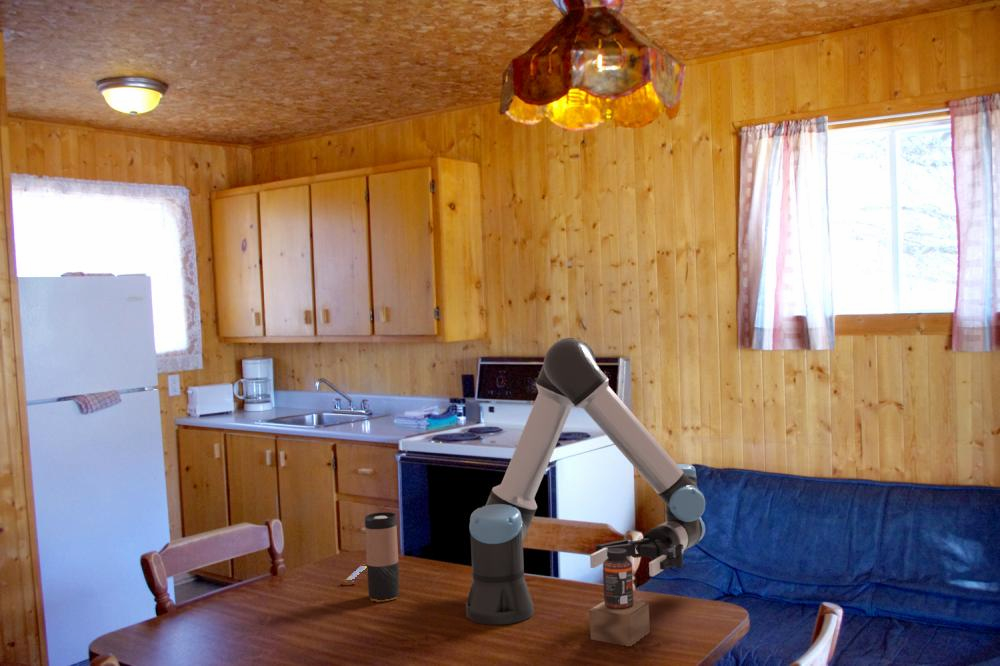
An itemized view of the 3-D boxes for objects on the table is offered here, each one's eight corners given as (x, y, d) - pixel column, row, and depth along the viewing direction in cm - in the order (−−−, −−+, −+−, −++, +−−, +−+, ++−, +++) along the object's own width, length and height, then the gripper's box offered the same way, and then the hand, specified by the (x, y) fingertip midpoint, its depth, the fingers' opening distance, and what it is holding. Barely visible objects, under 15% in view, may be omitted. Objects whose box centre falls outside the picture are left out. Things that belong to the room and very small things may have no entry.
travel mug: (401, 592, 216) (397, 511, 216) (398, 601, 208) (394, 518, 208) (370, 593, 216) (366, 513, 215) (366, 603, 208) (362, 520, 208)
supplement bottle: (632, 610, 176) (630, 554, 176) (603, 609, 177) (600, 554, 177) (634, 600, 182) (632, 546, 182) (605, 600, 183) (603, 546, 183)
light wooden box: (590, 639, 178) (589, 608, 178) (610, 625, 186) (609, 595, 186) (630, 646, 173) (629, 615, 173) (649, 632, 181) (648, 602, 181)
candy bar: (354, 588, 223) (354, 581, 223) (339, 588, 223) (338, 580, 223) (375, 569, 239) (375, 562, 239) (361, 569, 240) (360, 562, 240)
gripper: (718, 564, 190) (678, 592, 173) (616, 552, 204) (569, 575, 187) (717, 530, 190) (676, 554, 173) (614, 520, 204) (567, 540, 187)
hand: (620, 565), depth 180 cm, fingers open, 13 cm apart
